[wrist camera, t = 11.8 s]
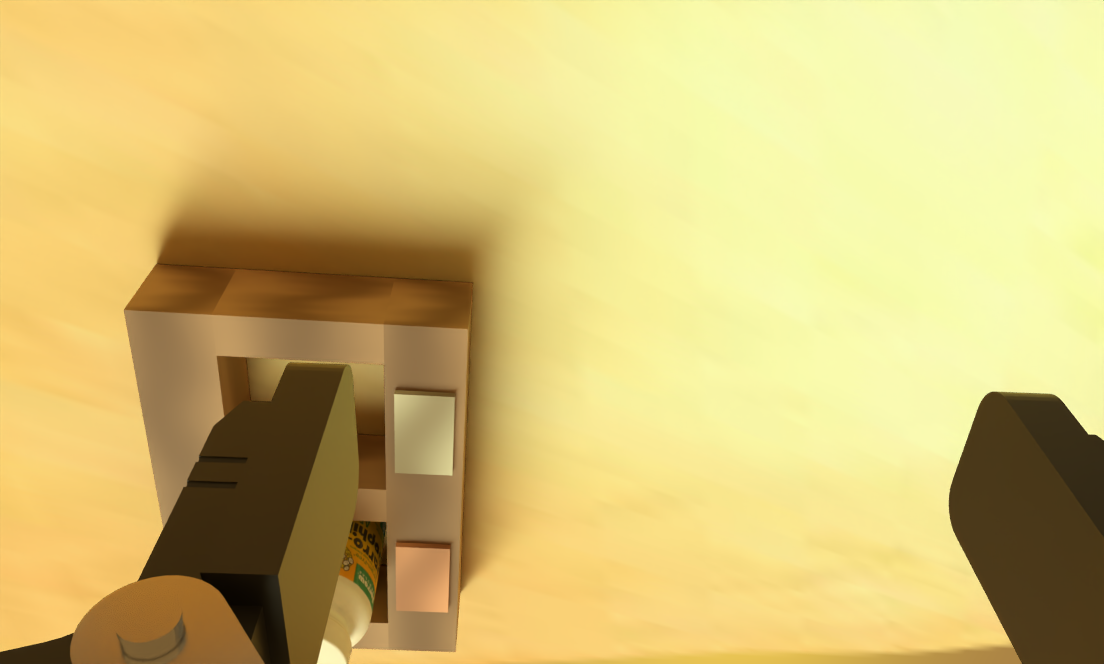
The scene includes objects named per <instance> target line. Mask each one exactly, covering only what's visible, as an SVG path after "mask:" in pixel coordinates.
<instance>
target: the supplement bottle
mask: <svg viewBox="0 0 1104 664" xmlns="http://www.w3.org/2000/svg"><path fill="white" fill-rule="evenodd" d="M385 530H386V522H376V521H353V520H352V524H351V528H350V532H349V536H348V540H347V544H346V549H345V553H344V557H343V561H342V565H341V569H340V573H339V577H338V581H337V585H336V589H335V593H334V597H333V601H332V605H331V609H330V613H329V617H328V621H327V625H326V629H325V633H324V637H323V641H322V645H321V649H320V653H319V657H318V661H317V664H348V663H349V659H350V655H351V651H352V647H353V646H354V645H356V644H357V643H358V642H359V641H360V640H361V639H362V637H363V636H364V635H365V633H366V631H367V629H368V627H369V624H370V620H371V616H372V611H373V604H374V598H375V593H376V587H377V581H378V574H379V568H380V562H381V556H382V549H383V543H384V537H385Z"/></svg>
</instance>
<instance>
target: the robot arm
mask: <svg viewBox="0 0 1104 664" xmlns="http://www.w3.org/2000/svg"><path fill="white" fill-rule="evenodd" d="M358 482H359V457H358V443H357V428H356V414H355V400H354V385H353V375H352V370H351V367H350V365H344V364H319V363H294V362H290V363H288V365H287V366H286V368H285V370H284V372H283V375H282V377H281V380H280V382H279V384H278V387H277V389H276V392H275V394H274V396H273V399H272V401H271V402H264V401H242V402H241V403H240V404H239V405H238V406H236V407H235V408H234V409H233V410H232V411H230V412H229V413H228V414H227V415H226V416H225V417H223V418H222V419H221V420H220V421H219V422H217V423H216V424H215V425H214V426H213V428H212V430H211V432H210V434H209V436H208V438H207V440H206V442H205V444H204V446H203V448H202V450H201V452H200V454H199V461H198V462H196V463H195V465H194V467H193V469H192V471H191V473H190V475H189V477H188V479H187V486H186V487H183V489H182V491H181V493H180V495H179V498H178V500H177V502H176V504H175V506H174V508H173V510H172V512H171V514H170V516H169V518H168V520H167V522H166V524H165V526H164V528H163V530H162V532H161V534H160V537H159V539H158V541H157V543H156V545H155V547H154V549H153V551H152V553H151V555H150V557H149V559H148V561H147V563H146V565H145V567H144V569H143V571H142V574H141V576H140V578H139V579H138V581H137V582H134V583H131V584H128V585H126V586H124V587H122V588H120V589H118V590H116V591H114V592H113V593H111V594H109V595H108V596H106V597H105V598H103V599H102V600H101V601H100V602H98V603H97V604H96V605H95V606H93V607H92V608H91V610H90V611H89V612H88V613H87V614H86V615H85V616H84V617H83V619H82V620H81V622H80V623H79V624H78V626H77V628H76V630H75V632H74V633H72V634H70V635H67V636H64V637H62V638H58V639H55V640H51V641H47V642H44V643H39V644H34V645H30V646H25V647H21V648H16V649H12V650H7V651H3V652H0V664H317V661H318V657H319V653H320V649H321V645H322V641H323V637H324V633H325V629H326V625H327V621H328V617H329V613H330V609H331V605H332V601H333V597H334V593H335V589H336V585H337V581H338V577H339V573H340V569H341V565H342V561H343V557H344V553H345V549H346V544H347V540H348V536H349V532H350V528H351V524H352V520H353V516H354V512H355V507H356V501H357V494H358ZM949 514H950V520H951V524H952V528H953V531H954V533H955V535H956V537H957V539H958V541H959V543H960V545H961V547H962V549H963V551H964V553H965V555H966V557H967V558H968V560H969V562H970V564H971V566H972V568H973V570H974V572H975V574H976V576H977V578H978V580H979V582H980V583H981V585H982V587H983V589H984V591H985V593H986V595H987V597H988V599H989V601H990V603H991V605H992V607H993V609H994V610H995V612H996V614H997V616H998V618H999V620H1000V622H1001V624H1002V626H1003V628H1004V630H1005V632H1006V634H1007V635H1008V637H1009V639H1010V641H1011V643H1012V645H1013V647H1014V649H1015V651H1016V653H1017V655H1018V657H1019V659H1020V660H1021V662H1022V664H1104V440H1102V439H1101V438H1100V437H1098V436H1097V435H1088V433H1087V432H1086V431H1085V430H1084V428H1083V427H1082V426H1081V425H1080V423H1079V422H1078V421H1077V419H1076V418H1075V417H1074V416H1073V414H1072V413H1071V412H1070V411H1069V409H1068V408H1067V407H1066V406H1065V404H1064V403H1063V402H1062V401H1061V400H1060V399H1059V398H1058V397H1057V396H1055V395H1053V394H1040V393H1014V392H990V393H988V394H987V395H986V396H985V397H984V398H983V399H982V401H981V403H980V405H979V407H978V410H977V413H976V416H975V418H974V421H973V424H972V427H971V430H970V433H969V435H968V438H967V441H966V444H965V447H964V450H963V452H962V455H961V458H960V461H959V464H958V467H957V469H956V472H955V475H954V478H953V481H952V484H951V488H950V494H949Z"/></svg>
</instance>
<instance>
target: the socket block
mask: <svg viewBox="0 0 1104 664" xmlns="http://www.w3.org/2000/svg"><path fill="white" fill-rule="evenodd" d="M472 291H473V283H469V282H452V281H435V280H418V279H401V278H384V277H367V276H350V275H333V274H316V273H299V272H282V271H265V270H248V269H231V268H214V267H197V266H180V265H163V264H156V265H155V267H154V268H153V269H152V271H151V272H150V274H149V275H148V276H147V278H146V279H145V281H144V282H143V284H142V285H141V286H140V288H139V289H138V291H137V292H136V293H135V295H134V296H133V298H132V299H131V301H130V302H129V303H128V305H127V306H126V308H125V309H124V314H125V319H126V325H127V330H128V336H129V341H130V347H131V352H132V358H133V363H134V369H135V374H136V380H137V385H138V391H139V396H140V402H141V407H142V413H143V418H144V424H145V429H146V435H147V440H148V446H149V452H150V457H151V463H152V468H153V474H154V479H155V485H156V490H157V496H158V501H159V507H160V512H161V518H162V523H163V528H164V526H165V524H166V522H167V520H168V518H169V516H170V514H171V512H172V510H173V508H174V506H175V504H176V502H177V500H178V498H179V495H180V493H181V491H182V489H183V487H186V486H187V479H188V477H189V475H190V473H191V471H192V469H193V467H194V465H195V463H196V462H198V461H199V454H200V452H201V450H202V448H203V446H204V444H205V442H206V440H207V438H208V436H209V434H210V432H211V430H212V428H213V426H214V425H215V424H216V423H217V422H219V421H220V420H221V419H222V418H223V417H225V416H226V415H227V414H228V413H229V412H230V411H232V410H233V409H234V408H235V407H236V406H238V405H239V404H240V403H241V402H242V401H251V399H250V390H249V381H248V371H247V362H246V357H252V358H270V359H289V360H308V361H327V362H346V363H364V364H383V365H384V389H385V436H379V435H358V434H357V443H358V457H359V482H358V494H357V501H356V507H355V512H354V516H353V521H376V522H387V566H385V565H380V568H379V574H378V581H377V587H376V593H375V598H374V604H373V611H372V616H371V620H370V624H369V627H368V629H367V631H366V633H365V635H364V636H363V637H362V639H361V640H360V641H359V642H358V643H357V644H356V645H354V646H353V647H352V648H356V649H385V650H413V651H441V652H456V640H457V627H458V615H459V602H460V584H461V560H462V536H463V511H464V487H465V462H466V438H467V413H468V389H469V364H470V340H471V315H472Z"/></svg>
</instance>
